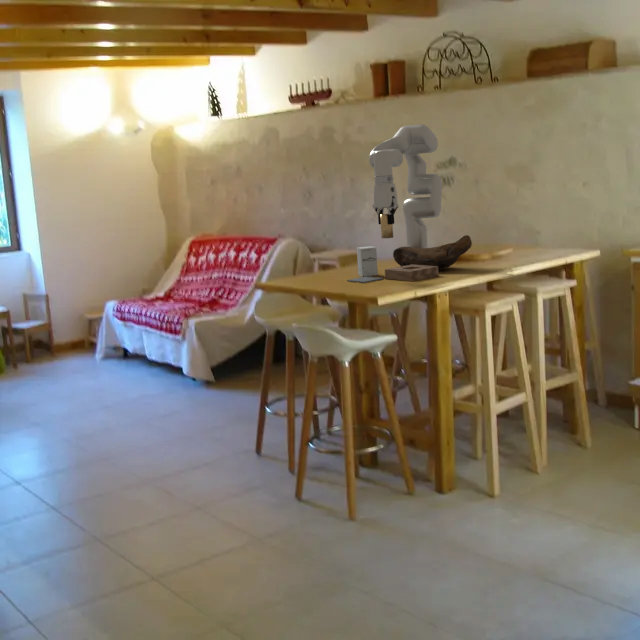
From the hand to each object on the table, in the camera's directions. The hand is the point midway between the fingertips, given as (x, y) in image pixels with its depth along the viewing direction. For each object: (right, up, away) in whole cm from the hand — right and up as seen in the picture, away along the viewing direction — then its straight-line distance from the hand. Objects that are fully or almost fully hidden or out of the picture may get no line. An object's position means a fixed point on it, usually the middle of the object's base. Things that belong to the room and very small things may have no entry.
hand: (386, 223), depth 347 cm
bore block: (+11, -22, +4) cm, 25 cm away
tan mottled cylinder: (+1, -6, +1) cm, 6 cm away
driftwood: (+23, -18, +22) cm, 36 cm away
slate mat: (-9, -24, +5) cm, 26 cm away
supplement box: (-6, -21, +20) cm, 30 cm away
